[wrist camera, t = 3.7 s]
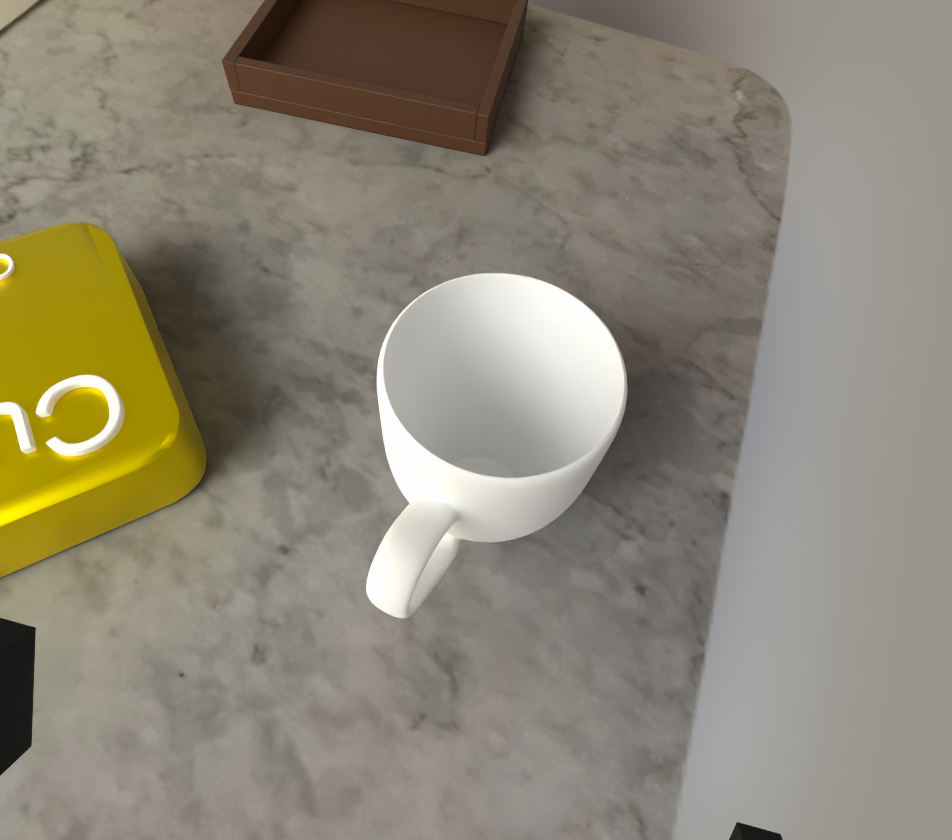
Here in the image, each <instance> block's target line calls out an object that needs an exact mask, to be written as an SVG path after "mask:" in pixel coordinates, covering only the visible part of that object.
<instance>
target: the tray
mask: <svg viewBox="0 0 952 840" xmlns="http://www.w3.org/2000/svg"><path fill="white" fill-rule="evenodd" d="M527 4H528V0H265V1H264V2H263V4H262V5H261V6H260V8H259V9H258V11H257V12H256V13H255V15H254V16H253V18H252V19H251V20H250V22H249V23H248V25H247V26H246V27H245V29H244V30H243V32H242V33H241V35H240V36H239V37H238V39H237V40H236V42H235V43H234V44H233V46H232V47H231V49H230V50H229V51H228V53H227V54H226V56H225V57H224V58H223V60H222V63H223V66H224V70H225V73H226V77H227V80H228V83H229V87H230V90H231V93H232V96H233V100H234V103H236V104H241V105H245V106H250V107H255V108H260V109H264V110H269V111H274V112H279V113H283V114H288V115H293V116H298V117H302V118H307V119H312V120H317V121H321V122H326V123H331V124H336V125H340V126H345V127H350V128H355V129H359V130H364V131H369V132H374V133H378V134H383V135H388V136H393V137H397V138H402V139H407V140H412V141H416V142H421V143H426V144H431V145H435V146H440V147H445V148H450V149H454V150H459V151H464V152H469V153H473V154H478V155H483V156H485V154H486V151H487V148H488V145H489V142H490V139H491V136H492V132H493V129H494V126H495V123H496V120H497V117H498V114H499V110H500V107H501V104H502V101H503V98H504V95H505V91H506V88H507V85H508V82H509V79H510V76H511V73H512V69H513V66H514V63H515V60H516V57H517V54H518V50H519V47H520V44H521V41H522V38H523V34H524V26H525V19H526V12H527Z"/></svg>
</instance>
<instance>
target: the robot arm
mask: <svg viewBox="0 0 952 840" xmlns="http://www.w3.org/2000/svg"><path fill="white" fill-rule="evenodd" d="M35 630H36V628H35V627H31V626H27V625H24V624H20V623H17V622H13V621H9V620H6V619H2V618H0V775H1V774H3V773H4V772H5V771H6V770H7V769H8V768H9V767H10V766H11V765H12V764H13V763H14V762H15V761H16V760H17V759H18V758H19V757H20V756H21V755H22V754H23V753H25V752H26V751H27V750H28V749H29V748H30V747H31V743H32V715H33V687H34V658H35ZM729 840H782V837H781V835H780V834H778V833H774V832H771V831H767V830H763V829H760V828H756V827H752V826H749V825H746V824H742V823H738V822H737V823H736V826H735V828H734V830H733V832H732V835H731V837H730V839H729Z"/></svg>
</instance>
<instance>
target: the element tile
mask: <svg viewBox="0 0 952 840" xmlns="http://www.w3.org/2000/svg"><path fill="white" fill-rule="evenodd" d="M206 459H207V454H206V447H205V444H204V442H203V439H202V437H201V434H200V432H199V429H198V427H197V424H196V422H195V419H194V417H193V414H192V412H191V409H190V407H189V404H188V402H187V399H186V397H185V394H184V392H183V389H182V387H181V384H180V382H179V379H178V377H177V374H176V372H175V369H174V367H173V364H172V361H171V359H170V356H169V354H168V351H167V349H166V346H165V344H164V341H163V339H162V336H161V334H160V331H159V329H158V326H157V324H156V321H155V319H154V316H153V314H152V311H151V309H150V306H149V304H148V301H147V299H146V296H145V294H144V291H143V289H142V287H141V285H140V284H139V282H138V280H137V279H136V277H135V275H134V274H133V272H132V270H131V269H130V267H129V265H128V264H127V262H126V260H125V259H124V257H123V255H122V254H121V252H120V250H119V249H118V247H117V245H116V244H115V242H114V241H113V239H112V238H111V236H110V235H109V234H108V233H107V232H105V231H104V230H103V229H101V228H100V227H99V226H97V225H93V224H89V223H86V222H80V223H65V224H60V225H55V226H51V227H48V228H45V229H41V230H38V231H34V232H31V233H27V234H24V235H20V236H17V237H13V238H10V239H6V240H3V241H0V578H1V577H3V576H6V575H8V574H10V573H13V572H15V571H17V570H19V569H22V568H24V567H26V566H29V565H31V564H33V563H36V562H38V561H40V560H43V559H45V558H47V557H50V556H52V555H54V554H57V553H59V552H61V551H63V550H66V549H68V548H70V547H73V546H75V545H77V544H80V543H82V542H84V541H87V540H89V539H91V538H94V537H96V536H98V535H100V534H103V533H105V532H107V531H110V530H112V529H114V528H117V527H119V526H121V525H124V524H126V523H128V522H131V521H133V520H135V519H138V518H140V517H142V516H144V515H147V514H149V513H151V512H154V511H156V510H158V509H161V508H163V507H165V506H168V505H170V504H172V503H174V502H176V501H177V500H179V499H181V498H183V497H184V496H186V495H187V494H188V493H189V492H190V491H191V490H193V489H194V488H195V487H196V486H197V485H198V484H199V482H200V480H201V478H202V476H203V475H204V473H205V468H206Z"/></svg>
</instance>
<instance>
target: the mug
mask: <svg viewBox="0 0 952 840" xmlns="http://www.w3.org/2000/svg"><path fill="white" fill-rule="evenodd" d="M377 393H378V403H379V410H380V418H381V425H382V433H383V440H384V445H385V451H386V455H387V459H388V462H389V465H390V468H391V471H392V474H393V476H394V478H395V480H396V483H397V485H398V486H399V488H400V490H401V492H402V493H403V495H404V496H405V498H406V499H407V500H408V502H409V503H410V504H409V505H408V506H407V507H406V508H405V510H404V511H403V512H402V513H401V514H400V515H399V517H398V518H397V519H396V520H395V522H394V523H393V524H392V526H391V527H390V529H389V530H388V532H387V533H386V535H385V537H384V539H383V540H382V542H381V544H380V546H379V548H378V550H377V553H376V555H375V557H374V559H373V562H372V565H371V567H370V570H369V574H368V578H367V584H366V590H367V595H368V597H369V599H370V601H371V602H372V603H373V604H374V605H375V606H376V607H378V608H379V609H381V610H382V611H384V612H386V613H387V614H389V615H392V616H394V617H397V618H408V617H410V616H412V615H413V614H414V613H415V612H416V611H417V610H418V609H419V607H420V606H421V605H422V604H423V602H424V601H425V600H426V598H427V597H428V596H429V594H430V593H431V592H432V590H433V589H434V587H435V586H436V585H437V583H438V582H439V580H440V579H441V578H442V576H443V575H444V573H445V572H446V571H447V569H448V568H449V566H450V565H451V563H452V562H453V560H454V558H455V556H456V554H457V552H458V549H459V545H460V541H461V539H466V540H470V541H477V542H501V541H508V540H512V539H516V538H520V537H523V536H526V535H528V534H531V533H533V532H535V531H537V530H539V529H541V528H543V527H545V526H546V525H548V524H549V523H551V522H552V521H554V520H555V519H556V518H557V517H559V516H560V515H561V514H562V513H563V512H564V511H565V510H566V509H568V508H569V506H570V505H571V504H572V503H573V502H574V501H575V500H576V499H577V497H578V496H579V495H580V493H581V492H582V491H583V489H584V488H585V486H586V485H587V483H588V482H589V480H590V478H591V477H592V475H593V474H594V472H595V470H596V469H597V467H598V465H599V464H600V462H601V460H602V459H603V457H604V455H605V454H606V452H607V450H608V449H609V447H610V445H611V443H612V442H613V440H614V438H615V436H616V434H617V431H618V429H619V427H620V424H621V421H622V418H623V415H624V411H625V407H626V401H627V375H626V369H625V364H624V360H623V357H622V354H621V352H620V349H619V347H618V345H617V343H616V341H615V339H614V337H613V335H612V334H611V332H610V331H609V329H608V328H607V326H606V325H605V324H604V323H603V321H602V320H601V319H600V318H599V317H598V316H597V315H596V314H595V313H594V312H593V311H592V310H591V309H590V308H589V307H588V306H587V305H585V304H584V303H583V302H582V301H580V300H579V299H578V298H576V297H575V296H573V295H571V294H570V293H568V292H566V291H565V290H563V289H561V288H559V287H557V286H554V285H552V284H550V283H547V282H545V281H542V280H539V279H535V278H531V277H527V276H523V275H517V274H508V273H482V274H473V275H468V276H463V277H459V278H456V279H452V280H449V281H447V282H444V283H442V284H440V285H437V286H435V287H433V288H431V289H430V290H428V291H426V292H425V293H423V294H422V295H420V296H419V297H418V298H416V299H415V300H414V301H413V302H411V303H410V304H409V305H408V306H407V307H406V308H405V309H404V310H403V311H402V312H401V314H400V315H399V316H398V317H397V319H396V320H395V321H394V323H393V324H392V326H391V328H390V329H389V331H388V333H387V335H386V338H385V340H384V342H383V345H382V348H381V352H380V356H379V361H378V369H377Z"/></svg>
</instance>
